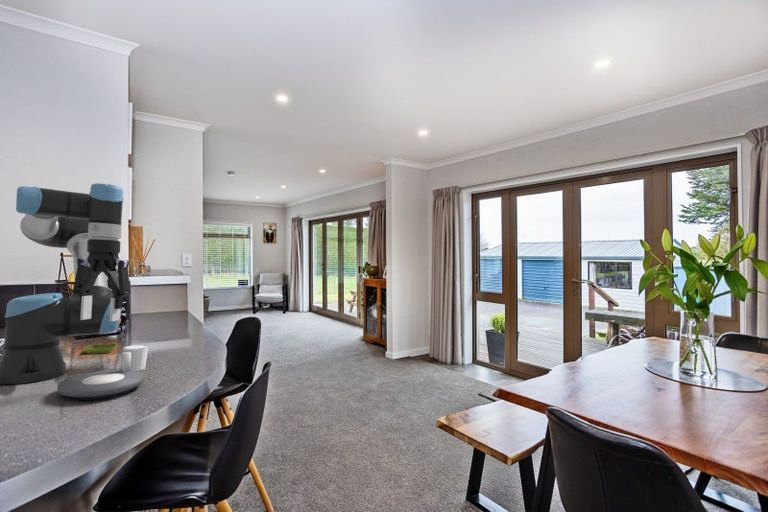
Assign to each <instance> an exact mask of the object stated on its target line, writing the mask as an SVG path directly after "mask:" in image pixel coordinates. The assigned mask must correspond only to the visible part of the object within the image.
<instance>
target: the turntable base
mask: <svg viewBox="0 0 768 512" xmlns="http://www.w3.org/2000/svg"><path fill="white" fill-rule="evenodd" d="M131 390H132V389H129V390H126V391H122V392H118V393H113V394H108V395H101V396H92V397H71V398H72V399H75V400H84V401H86V400H87V401H88V400H99V399H107V398H113V397H116V396H120V395H122V394H123V395H124V394H125V393H128V392H130V391H131Z"/></svg>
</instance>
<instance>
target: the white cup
mask: <svg viewBox="0 0 768 512" xmlns="http://www.w3.org/2000/svg"><path fill="white" fill-rule="evenodd" d="M148 351H149V345H147V344H133V345H132V344H131V345H128V346H127V345H126V346H123V347H122V353H124V352H131V370H137V371H139V370H141V371H143V369H144V370H145V369H146V366H147V365H146V364H147V357H148Z"/></svg>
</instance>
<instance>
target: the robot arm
mask: <svg viewBox="0 0 768 512" xmlns="http://www.w3.org/2000/svg"><path fill="white" fill-rule="evenodd" d="M123 195H124V191H123V188H122V187H121V186H119V185H115V184H114V185H113V184H109V183H97V182H96V183H92V184H91V185H90V191H89V192H88V193H83V192H75V191H67V190H59V189H51V188H45V187H38V186H26V185H25V186H18V187H17V189H16V198H15V199H16V201H15V211H16V212H17V213H19V214H22V215H23V214H24V216H23V217H22V219H21V221H20V226H19V228H20V231H21V233H22V234H23V236H24V237H25V238H27V239H28V240H30V241H32V242H34V243H36V244H38V245H42V246H45V247H50V248H60V249H67V251H68V252H69V253H70V254H71V255H72V261H73V274H74V283H73V285H72V286H73V287H72V294H71V295H70V296H69V297H64V296H63V294H62V293H61V292H52V293H47V292H46V293H38V294H30V295H24V296H19V297H14V298H12V299H10V300H9V301H8V302H7V304H6V309H5V310H6V312H5V315H4V318H5V327H4V328H5V329H4V342H3V343H4V345H3V352H2V354H1V357H0V384H1V385H16V384H18V385H19V384H28V383H34V382H35V383H36V382H40V381H45V380H50V379H53V378H57V377H60V376H62V375H64V374H65V373H66V371H67V363H66V362H65V361H64V357H63V354H62V351H61V347H60V342H61V339H60V338H65V337H76V336H88V335H89V336H91V335H104V334H110V333H114V332H116V331H117V330H118V328H119V325H120V320H121V316H122V315H121V314H122V308H123V304H124V303H123V302H124V297H126V296H129V295H131V293H132V291H131V284H130V276H129V275H130V274H129V265H130V261H129V260H126V259H125V260H124V259H120V258H119V254H120V253H121V241H120V240H121V238H122V216H123V215H122V214H123V203H124V196H123ZM108 283H109V285H108ZM109 286H110V287H109Z"/></svg>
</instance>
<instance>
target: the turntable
mask: <svg viewBox="0 0 768 512" xmlns="http://www.w3.org/2000/svg"><path fill="white" fill-rule="evenodd" d="M119 365H120V368H118V369H115V368H114V369H105V370H97V371H91V372H85V373H82V374H76V375H74V376H70V377H67V378H65V379H63V380H61V381H60V382H59V383H58V385H57V394H59V395H61V396H63V397H69V398H70V397H71V398H72V397H92V396H101V395H108V394H113V393H118V392H122V391H126V390H129V389H131V390H132V389H134V388H136V387H138V386H140V385H142V384H143V383H144V382H145V373H144V372H142V370H141V371H137V370H131V352H124V353H123V352H121V353H120V364H119ZM129 391H130V390H129Z"/></svg>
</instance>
